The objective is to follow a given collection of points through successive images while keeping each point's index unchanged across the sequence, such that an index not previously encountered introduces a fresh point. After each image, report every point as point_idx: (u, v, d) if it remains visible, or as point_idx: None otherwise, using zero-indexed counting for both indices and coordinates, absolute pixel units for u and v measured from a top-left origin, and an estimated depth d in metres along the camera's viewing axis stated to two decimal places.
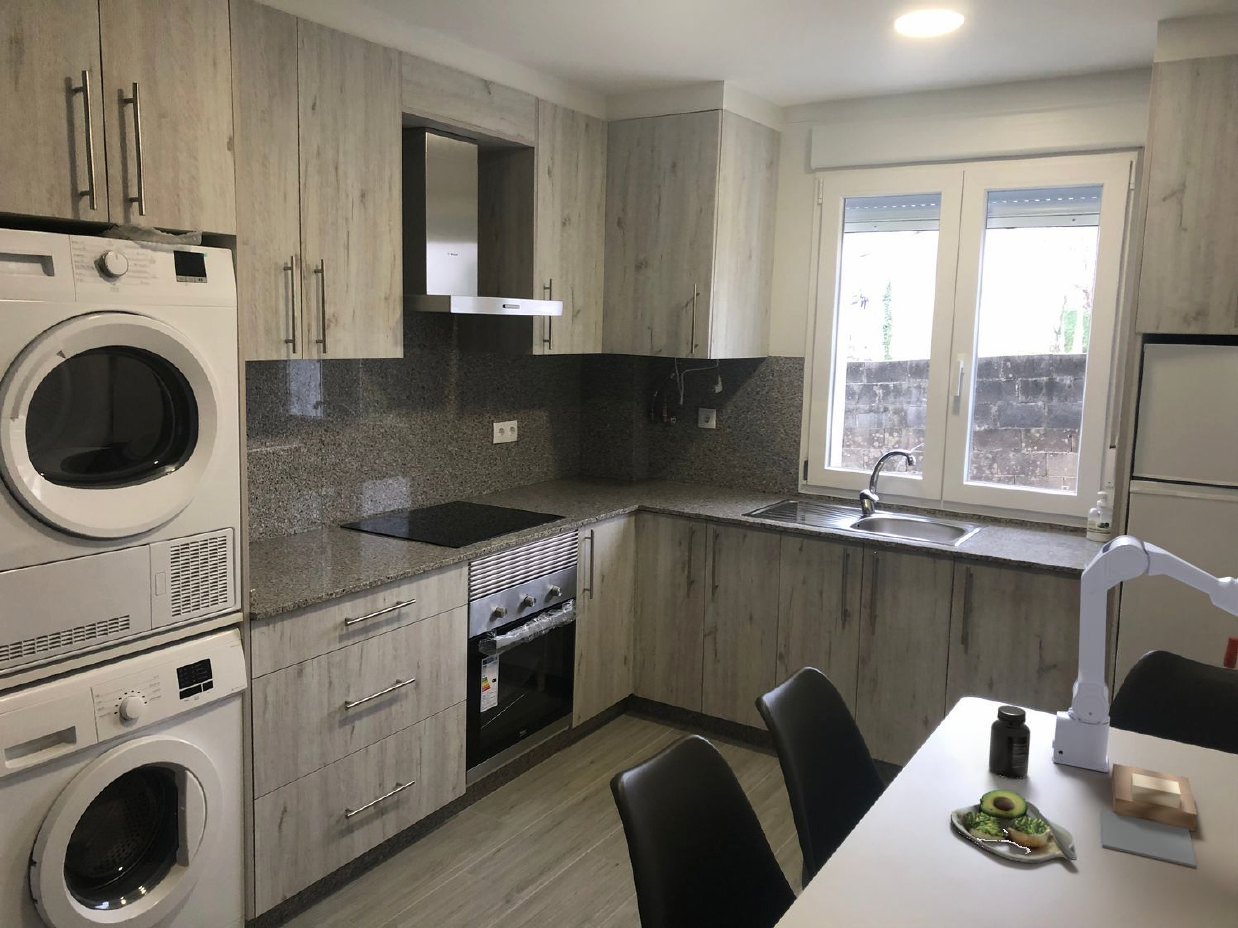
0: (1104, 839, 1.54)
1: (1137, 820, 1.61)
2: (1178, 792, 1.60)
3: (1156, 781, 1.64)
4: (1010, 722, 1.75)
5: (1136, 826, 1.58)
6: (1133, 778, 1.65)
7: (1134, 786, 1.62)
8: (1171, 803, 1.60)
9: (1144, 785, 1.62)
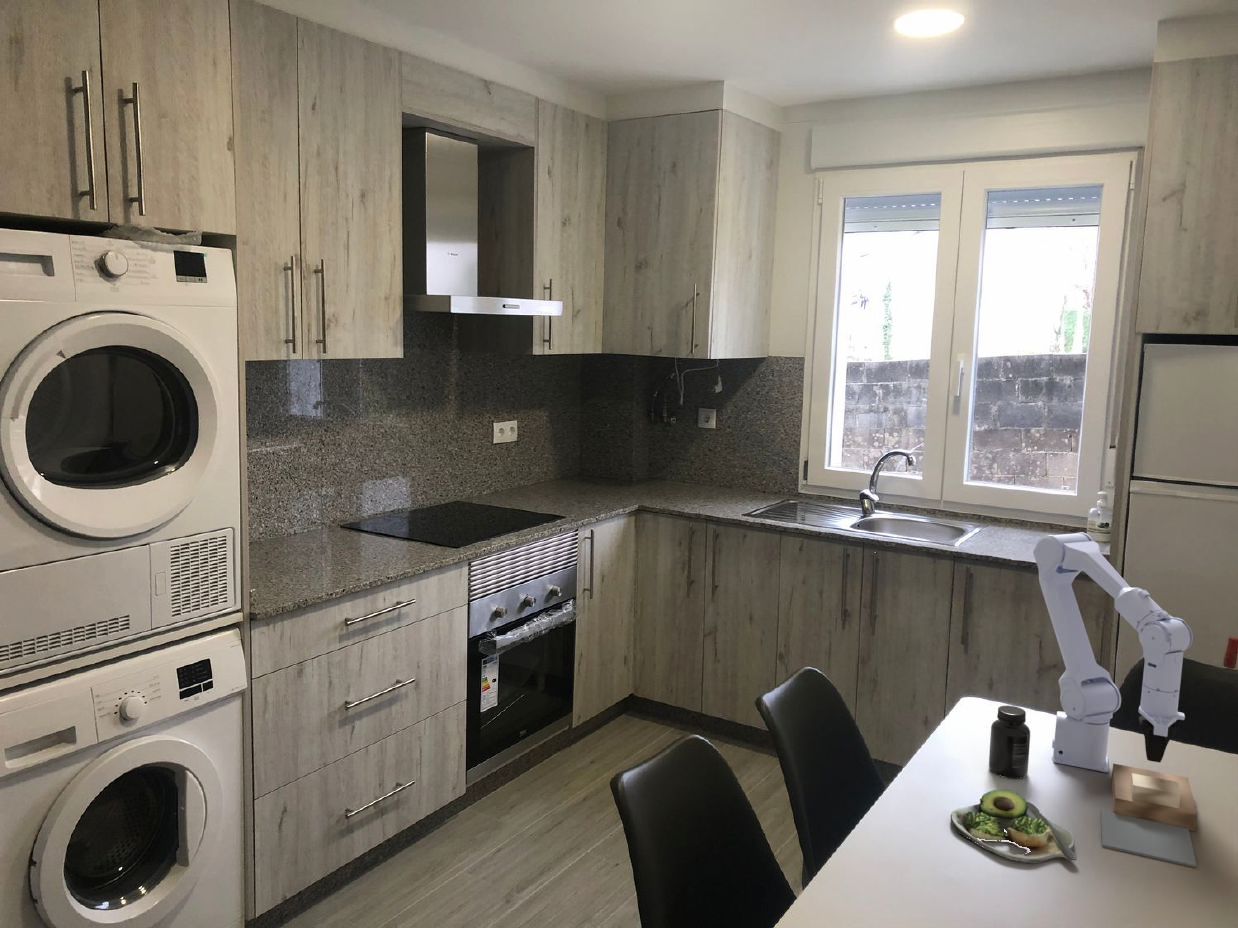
0: (1104, 839, 1.54)
1: (1137, 820, 1.61)
2: (1178, 792, 1.60)
3: (1156, 781, 1.64)
4: (1010, 722, 1.75)
5: (1136, 826, 1.58)
6: (1133, 778, 1.65)
7: (1134, 786, 1.62)
8: (1171, 803, 1.60)
9: (1144, 785, 1.62)
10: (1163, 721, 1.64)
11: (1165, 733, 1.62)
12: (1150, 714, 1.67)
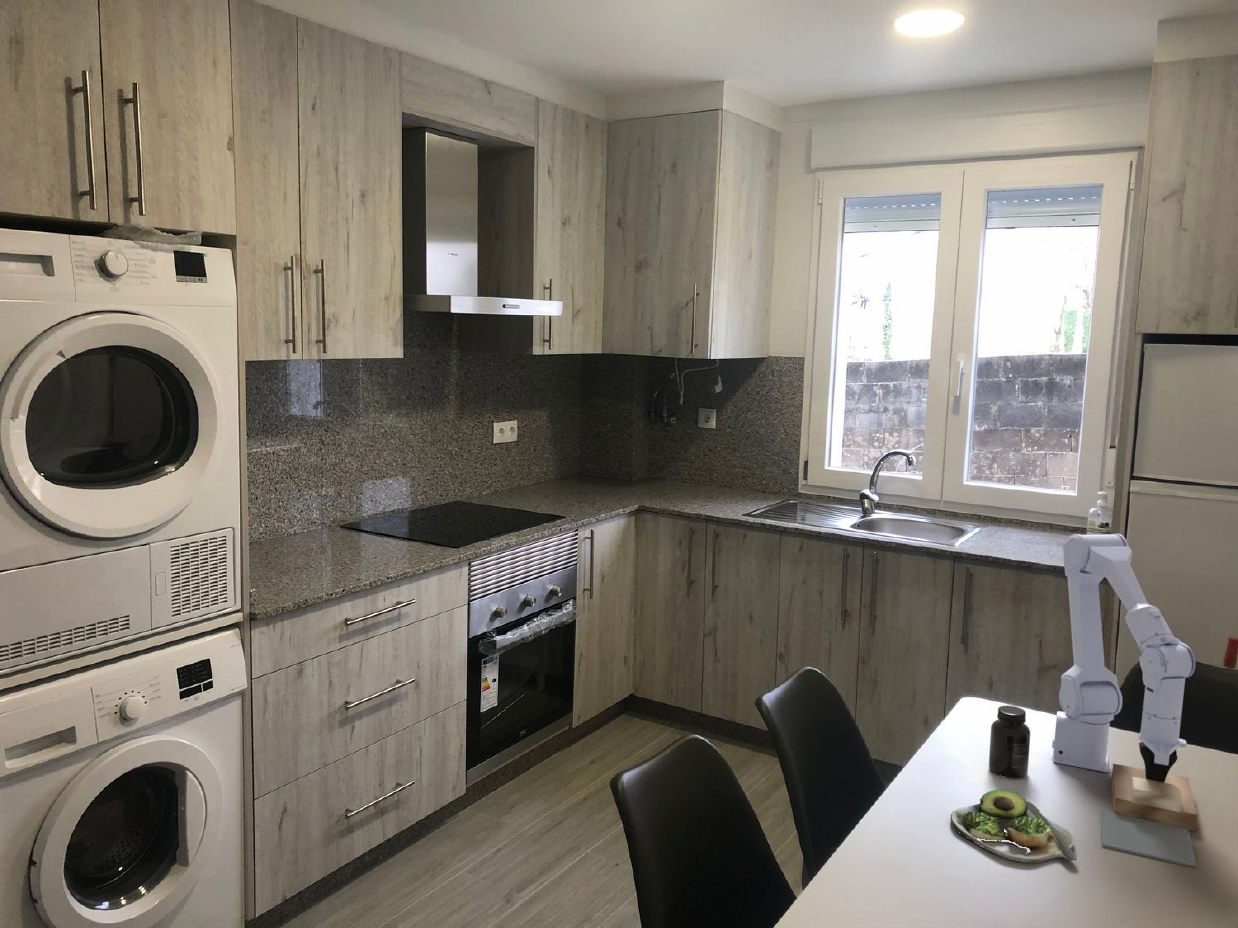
0: (1104, 839, 1.54)
1: (1137, 820, 1.61)
2: (1179, 795, 1.59)
3: (1157, 784, 1.63)
4: (1010, 722, 1.75)
5: (1136, 826, 1.58)
6: (1133, 781, 1.64)
7: (1135, 790, 1.61)
8: (1172, 807, 1.59)
9: (1144, 788, 1.61)
10: (1164, 749, 1.60)
11: (1166, 762, 1.57)
12: (1151, 741, 1.62)
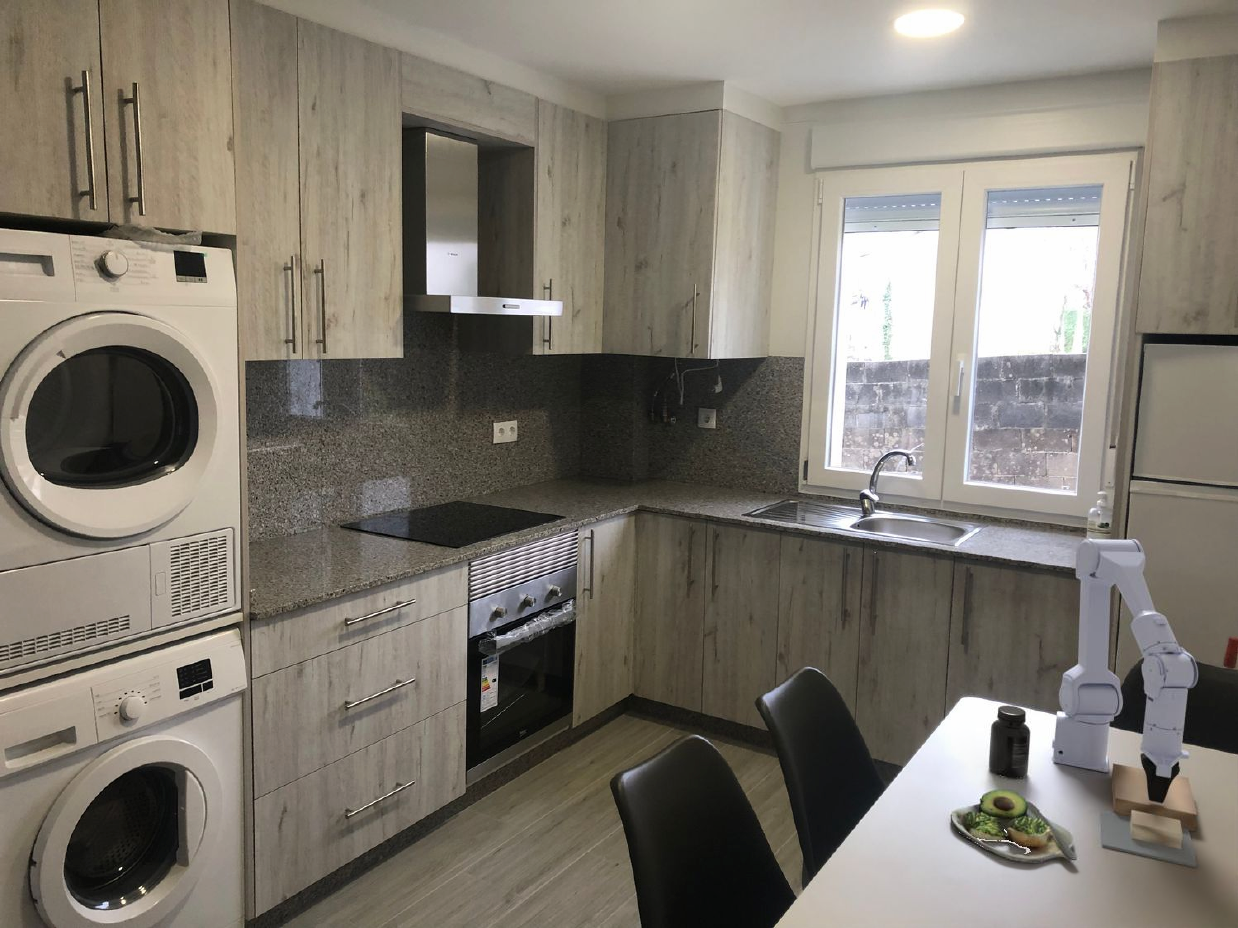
0: (1104, 839, 1.54)
1: None
2: None
3: None
4: (1010, 722, 1.75)
5: None
6: None
7: (1131, 822, 1.59)
8: None
9: None
10: (1166, 761, 1.55)
11: (1168, 774, 1.53)
12: (1152, 752, 1.58)
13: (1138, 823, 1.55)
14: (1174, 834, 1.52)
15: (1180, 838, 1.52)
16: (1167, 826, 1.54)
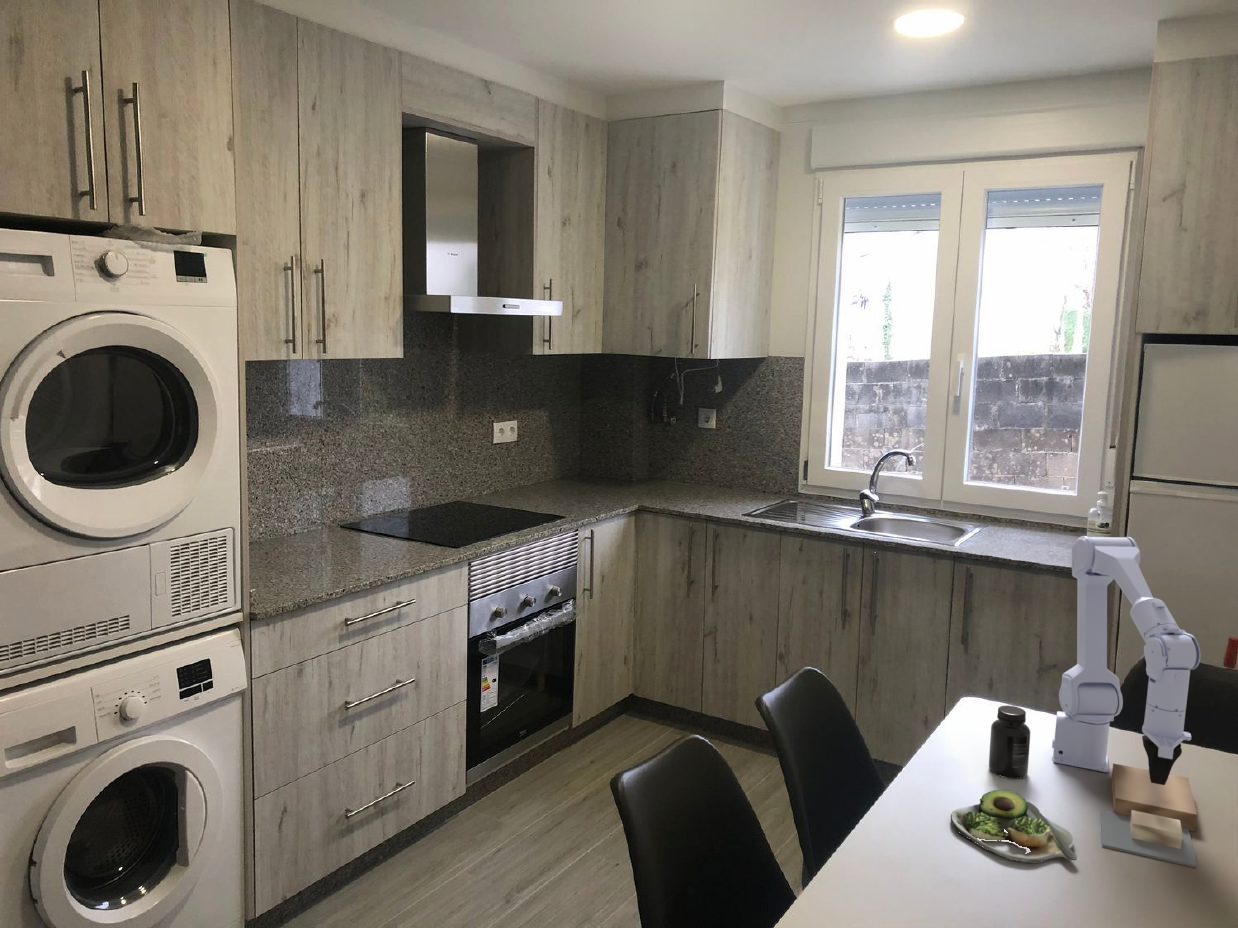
0: (1104, 839, 1.54)
1: None
2: None
3: None
4: (1010, 722, 1.75)
5: None
6: None
7: (1131, 822, 1.59)
8: None
9: None
10: (1168, 742, 1.55)
11: (1170, 755, 1.52)
12: (1154, 734, 1.57)
13: (1138, 823, 1.55)
14: (1174, 834, 1.52)
15: (1180, 838, 1.52)
16: (1167, 826, 1.54)
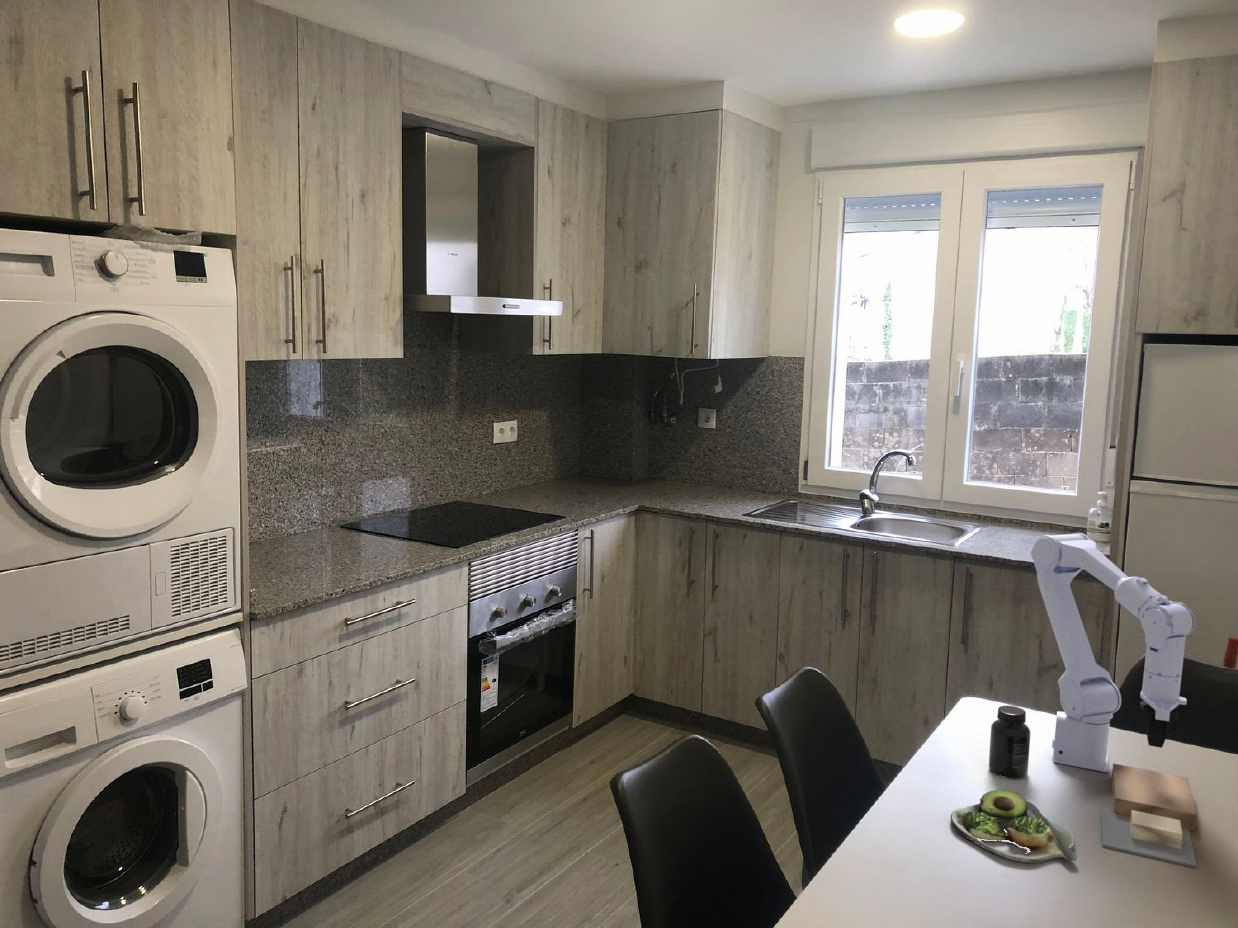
0: (1104, 839, 1.54)
1: None
2: None
3: None
4: (1010, 722, 1.75)
5: None
6: None
7: (1131, 822, 1.59)
8: None
9: None
10: (1165, 706, 1.64)
11: (1167, 718, 1.61)
12: (1152, 699, 1.66)
13: (1138, 823, 1.55)
14: (1174, 834, 1.52)
15: (1180, 838, 1.52)
16: (1167, 826, 1.54)
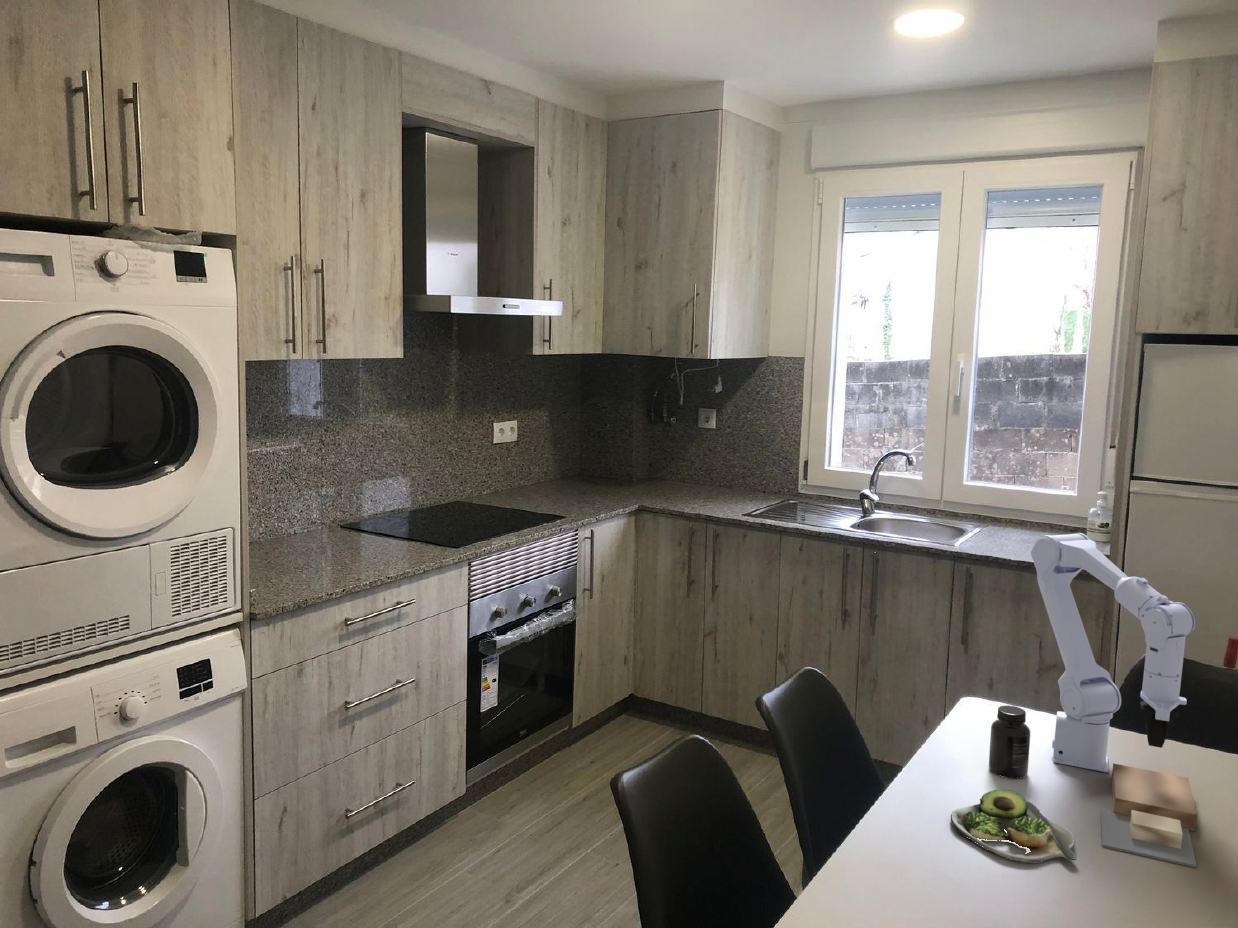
0: (1104, 839, 1.54)
1: None
2: None
3: None
4: (1010, 722, 1.75)
5: None
6: None
7: (1131, 822, 1.59)
8: None
9: None
10: (1165, 706, 1.64)
11: (1167, 718, 1.61)
12: (1152, 699, 1.66)
13: (1138, 823, 1.55)
14: (1174, 834, 1.52)
15: (1180, 838, 1.52)
16: (1167, 826, 1.54)
